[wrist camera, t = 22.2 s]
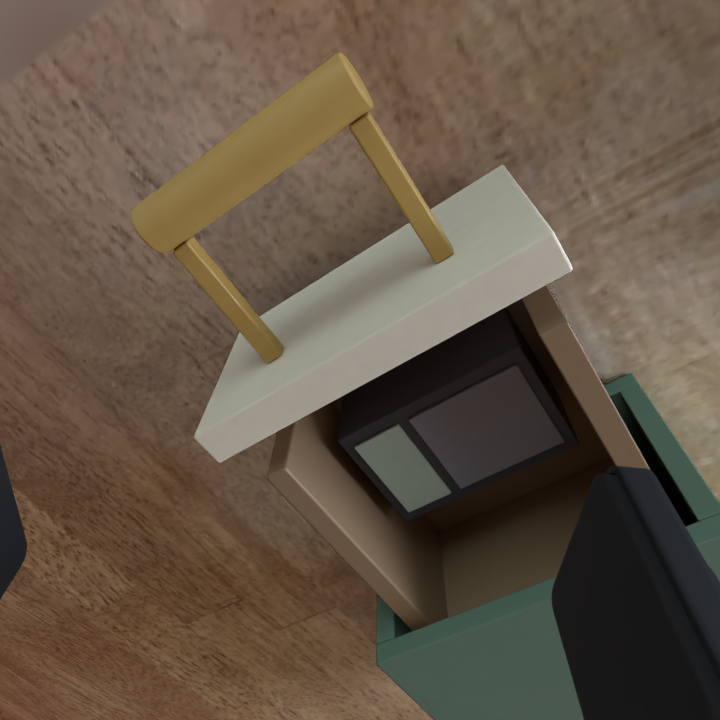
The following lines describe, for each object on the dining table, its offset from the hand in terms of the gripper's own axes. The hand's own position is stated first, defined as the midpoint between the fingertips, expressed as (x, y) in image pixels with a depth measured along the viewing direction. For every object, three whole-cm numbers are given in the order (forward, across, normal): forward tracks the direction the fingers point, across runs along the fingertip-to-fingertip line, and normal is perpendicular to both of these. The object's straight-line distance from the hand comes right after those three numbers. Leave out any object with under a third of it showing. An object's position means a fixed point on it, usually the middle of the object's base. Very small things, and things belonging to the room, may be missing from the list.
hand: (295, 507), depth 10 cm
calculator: (+13, -5, +6) cm, 15 cm away
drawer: (+14, -3, +4) cm, 15 cm away
